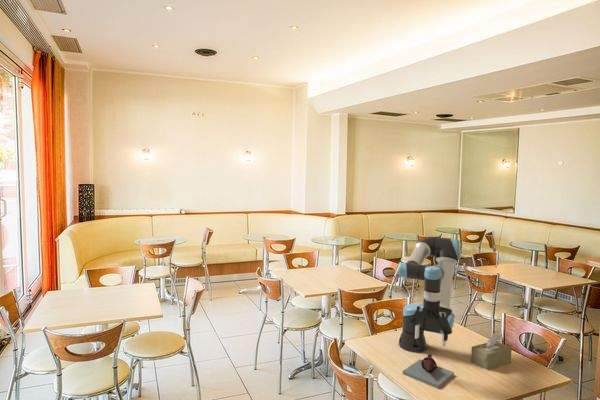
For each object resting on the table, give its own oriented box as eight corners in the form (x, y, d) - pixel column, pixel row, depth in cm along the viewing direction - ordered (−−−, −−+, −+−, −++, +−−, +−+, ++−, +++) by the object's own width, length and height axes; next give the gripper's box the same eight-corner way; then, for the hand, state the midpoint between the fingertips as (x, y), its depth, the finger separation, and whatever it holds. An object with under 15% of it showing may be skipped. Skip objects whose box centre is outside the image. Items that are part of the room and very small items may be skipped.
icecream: (439, 366, 185) (438, 355, 199) (423, 360, 187) (423, 349, 201) (434, 380, 186) (434, 368, 200) (418, 373, 188) (419, 362, 202)
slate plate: (402, 373, 193) (402, 370, 193) (419, 362, 206) (419, 359, 205) (438, 388, 181) (438, 385, 181) (454, 375, 193) (454, 372, 193)
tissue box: (486, 370, 199) (488, 339, 198) (470, 361, 208) (471, 332, 206) (511, 362, 207) (513, 333, 206) (494, 354, 216) (496, 326, 215)
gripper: (404, 294, 196) (402, 336, 198) (454, 308, 179) (451, 353, 181) (411, 291, 202) (410, 332, 203) (461, 304, 184) (458, 348, 186)
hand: (429, 342), depth 192 cm, fingers open, 13 cm apart
